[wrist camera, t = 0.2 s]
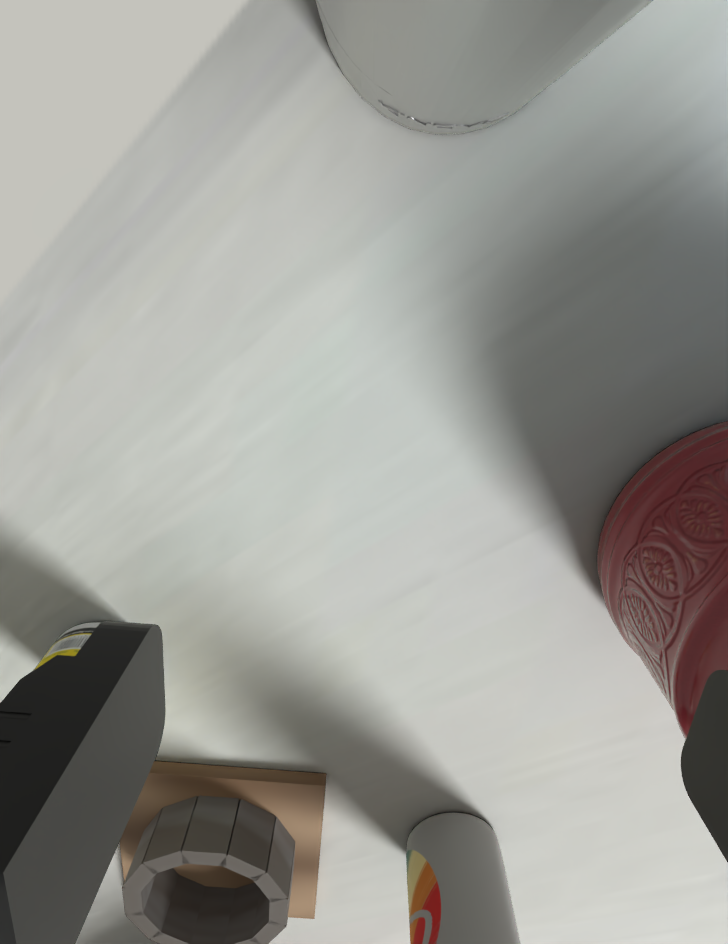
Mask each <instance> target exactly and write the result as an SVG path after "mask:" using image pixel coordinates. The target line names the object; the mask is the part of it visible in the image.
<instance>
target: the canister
mask: <svg viewBox="0 0 728 944" xmlns="http://www.w3.org/2000/svg"><path fill="white" fill-rule="evenodd" d="M597 567H598V575H599V581H600V584H601V588H602V592H603V597H604V601H605V604H606V607H607V609H608V612H609V614H610V616H611V618H612V620H613V622H614V624H615V625H616V627H617V628H618V630H619V632H620V634H621V635H622V637H623V639H624V640H625V641H626V643H627V644H628V645H629V646H630V648H631V649H632V650H633V651H634V652H635V653H636V654H637V655H638V656H639V657H640V658H641V659H642V661H643V663H644V664H645V666H646V667H647V669H648V671H649V672H650V674H651V675H652V677H653V678H654V680H655V682H656V683H657V685H658V686H659V688H660V690H661V691H662V693H663V694H664V696H665V698H666V699H667V701H668V702H669V704H670V706H671V707H672V709H673V710H674V712H675V715H676V719H677V721H678V724H679V727H680V729H681V731H682V734H683V736H684V738H685V739H686V738H687V735H688V732H689V729H690V726H691V724H692V721H693V718H694V715H695V712H696V709H697V706H698V704H699V701H700V698H701V695H702V692H703V689H704V686H705V684H706V681H707V679H708V677H709V676H710V675H711V674H712V673H713V672H715V671H716V670H728V421H726V422H722V423H718V424H715V425H712V426H709V427H706V428H704V429H701V430H699V431H696V432H694V433H692V434H690V435H688V436H686V437H684V438H682V439H680V440H679V441H677V442H675V443H673V444H672V445H670V446H669V447H667V448H666V449H664V450H663V451H661V452H660V453H659V454H657V455H656V456H655V457H653V458H652V459H651V460H650V461H649V462H647V463H646V464H645V465H644V466H643V467H642V468H641V469H640V470H639V471H638V472H637V473H636V474H635V475H634V476H633V477H632V478H631V479H630V481H629V482H628V483H627V484H626V486H625V487H624V488H623V489H622V491H621V492H620V494H619V495H618V497H617V498H616V500H615V502H614V503H613V505H612V507H611V509H610V511H609V513H608V515H607V517H606V520H605V522H604V525H603V528H602V531H601V535H600V539H599V544H598V553H597Z"/></svg>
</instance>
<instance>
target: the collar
mask: <svg viewBox="0 0 728 944" xmlns="http://www.w3.org/2000/svg"><path fill="white" fill-rule="evenodd" d="M325 784H326V774H324V773H310V772H297V771H283V770H270V769H256V768H243V767H229V766H216V765H202V764H189V763H175V762H161V761H154V763H153V765H152V767H151V770H150V772H149V774H148V777H147V779H146V781H145V784H144V786H143V788H142V791H141V793H140V795H139V797H138V800H137V802H136V804H135V807H134V809H133V811H132V814H131V816H130V818H129V821H128V823H127V825H126V827H125V830H124V832H123V834H122V837H121V839H120V849H121V858H122V867H123V875H124V884H123V887H122V891H123V900H124V908H125V914H126V916H127V917H128V918H129V919H130V920H131V921H132V922H133V923H134V924H135V925H136V926H137V928H138V929H139V930H140V931H141V932H142V933H143V934H144V935H145V936H146V937H147V938H148V939H150V940H152V941H154V942H157V943H159V944H268V943H269V942H270V941H272V940H273V939H274V938H275V937H276V936H277V935H278V934H279V933H280V932H281V931H282V930H283V929H284V928H285V927H286V925H287V919H288V917H294V918H309V919H314V916H315V904H316V892H317V880H318V868H319V856H320V844H321V832H322V820H323V808H324V796H325Z"/></svg>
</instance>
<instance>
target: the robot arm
mask: <svg viewBox="0 0 728 944" xmlns="http://www.w3.org/2000/svg"><path fill="white" fill-rule="evenodd" d="M652 1H653V0H316V4H317V8H318V12H319V16H320V19H321V22H322V26H323V29H324V32H325V36H326V39H327V42H328V46H329V48H330V50H331V52H332V54H333V55H334V57H335V59H336V61H337V63H338V65H339V67H340V69H341V71H342V73H343V75H344V76H345V77H346V79H347V80H348V81H349V82H350V84H351V85H352V86H353V87H354V89H355V90H356V91H357V92H358V94H359V95H360V96H361V98H362V99H364V100H365V101H366V102H367V103H368V104H370V105H371V106H372V107H373V108H375V109H376V110H377V111H378V112H379V113H381V114H382V115H383V116H384V117H386V118H388V119H390V120H392V121H394V122H396V123H398V124H400V125H402V126H404V127H407V128H409V129H412V130H417V131H421V132H426V133H431V134H435V135H438V134H464V133H468V132H471V131H475V130H479V129H482V128H486V127H490V126H491V125H493V124H495V123H497V122H499V121H501V120H503V119H505V118H507V117H509V116H510V115H512V114H514V113H516V112H517V111H518V110H519V109H521V108H522V107H523V106H524V105H526V104H527V103H528V102H529V101H531V100H532V99H533V98H534V97H535V96H537V95H538V94H539V93H540V92H542V91H543V90H544V89H545V88H547V87H548V86H549V85H551V84H552V83H553V82H555V81H556V80H557V79H559V78H560V77H561V76H562V75H564V74H565V73H566V72H567V71H568V70H570V69H571V68H572V67H573V66H574V65H576V64H577V63H578V62H579V61H581V60H582V59H583V58H584V57H585V56H587V55H588V54H589V53H590V52H591V51H593V50H594V49H595V48H596V47H597V46H599V45H600V44H601V43H602V42H604V41H605V40H606V39H607V38H608V37H610V36H611V35H612V34H613V33H614V32H616V31H617V30H618V29H619V28H620V27H622V26H623V25H624V24H625V23H627V22H628V21H629V20H630V19H631V18H633V17H634V16H635V15H636V14H637V13H639V12H640V11H641V10H642V9H643V8H645V7H646V6H647V5H648V4H650V3H651V2H652ZM164 722H165V689H164V666H163V643H162V633H161V629H160V627H159V626H158V625H153V624H140V623H127V622H114V621H103V622H102V623H100V624H99V625H98V626H97V627H96V629H95V630H94V631H93V633H92V634H91V635H90V637H89V638H88V639H87V641H86V642H85V643H84V645H83V646H82V647H81V649H80V650H79V651H78V653H77V654H76V655H75V656H66V655H56V656H55V657H53V658H52V659H50V660H49V661H47V662H46V663H44V664H43V665H41V666H40V667H38V668H37V669H35V670H34V671H32V672H31V673H29V674H28V675H26V676H25V677H23V678H22V679H20V680H19V682H18V683H17V684H16V685H15V686H14V688H13V689H12V690H11V691H10V692H9V694H8V695H7V696H6V697H5V698H4V700H3V701H2V702H1V703H0V944H75V943H76V940H77V938H78V936H79V934H80V931H81V929H82V927H83V924H84V922H85V920H86V917H87V915H88V913H89V910H90V908H91V906H92V904H93V901H94V899H95V897H96V894H97V892H98V890H99V887H100V885H101V883H102V881H103V878H104V876H105V874H106V871H107V869H108V867H109V864H110V862H111V860H112V857H113V855H114V853H115V851H116V848H117V846H118V844H119V841H120V839H121V837H122V834H123V832H124V830H125V827H126V825H127V823H128V821H129V818H130V816H131V814H132V811H133V809H134V807H135V804H136V802H137V800H138V797H139V795H140V793H141V791H142V788H143V786H144V784H145V781H146V779H147V777H148V774H149V772H150V770H151V767H152V765H153V763H154V761H155V758H156V756H157V753H158V750H159V747H160V743H161V739H162V734H163V729H164ZM681 771H682V777H683V782H684V785H685V788H686V791H687V793H688V796H689V798H690V799H691V801H692V803H693V805H694V806H695V808H696V810H697V811H698V813H699V815H700V816H701V818H702V820H703V822H704V823H705V825H706V827H707V828H708V830H709V832H710V833H711V835H712V837H713V838H714V840H715V842H716V843H717V845H718V847H719V849H720V850H721V852H722V854H723V855H724V857H725V859H726V860H727V862H728V670H716V671H715V672H713V673H712V674H711V675H710V676H709V677H708V679H707V681H706V684H705V686H704V689H703V692H702V695H701V698H700V701H699V704H698V706H697V709H696V712H695V715H694V718H693V721H692V724H691V726H690V729H689V732H688V735H687V738H686V741H685V743H684V746H683V750H682V755H681Z"/></svg>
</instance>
